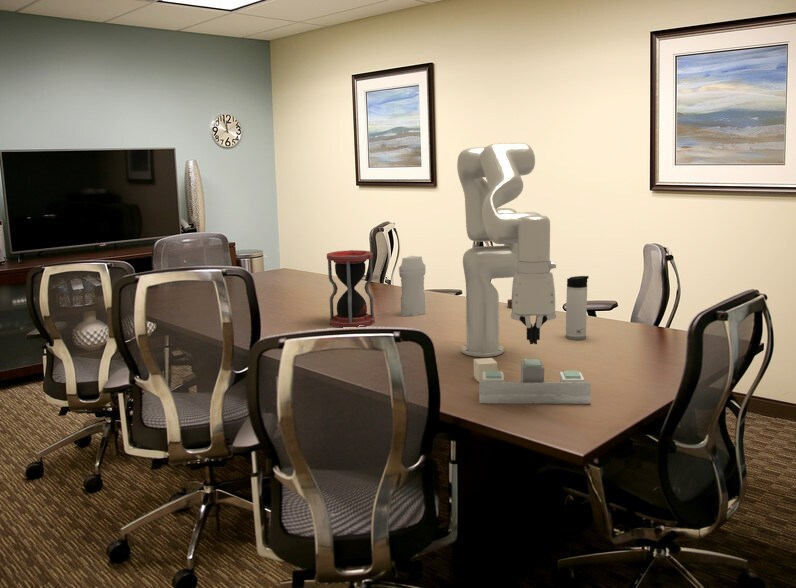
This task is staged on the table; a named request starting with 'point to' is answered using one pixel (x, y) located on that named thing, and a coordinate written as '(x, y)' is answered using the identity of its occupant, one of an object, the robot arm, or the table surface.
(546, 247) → the robot arm
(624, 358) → the table surface
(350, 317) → the hourglass
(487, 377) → the mounted modules
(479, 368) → the cream cube
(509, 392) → the rail
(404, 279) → the tall pale column
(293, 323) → the table surface
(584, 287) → the travel mug
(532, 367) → the block
